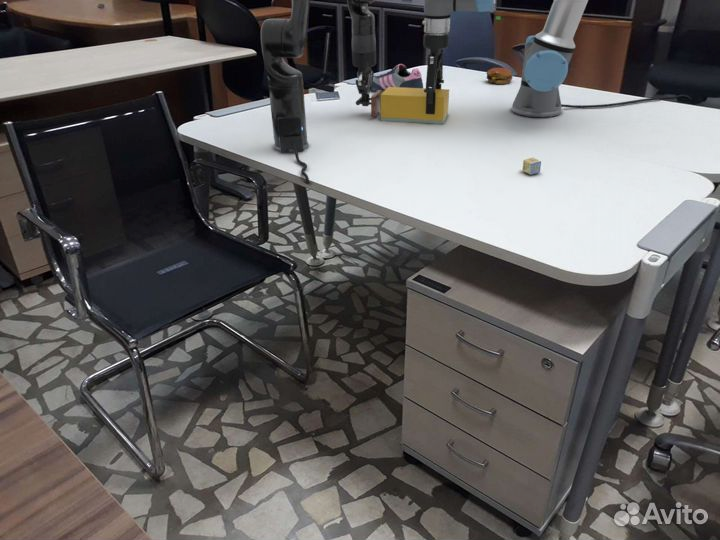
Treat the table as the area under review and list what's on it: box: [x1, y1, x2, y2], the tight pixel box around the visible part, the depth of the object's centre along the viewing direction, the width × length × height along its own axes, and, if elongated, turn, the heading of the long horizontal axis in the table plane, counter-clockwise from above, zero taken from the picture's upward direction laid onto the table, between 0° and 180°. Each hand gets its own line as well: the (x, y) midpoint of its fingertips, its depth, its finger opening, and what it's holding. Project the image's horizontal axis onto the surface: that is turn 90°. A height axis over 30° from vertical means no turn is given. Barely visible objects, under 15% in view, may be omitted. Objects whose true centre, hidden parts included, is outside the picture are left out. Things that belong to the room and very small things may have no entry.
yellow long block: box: [380, 87, 450, 125], centre depth 180 cm, size 20×10×8 cm, turn 74°
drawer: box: [355, 90, 382, 117], centre depth 181 cm, size 24×9×6 cm, turn 74°
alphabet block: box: [522, 157, 542, 175], centre depth 139 cm, size 3×3×3 cm
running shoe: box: [371, 63, 424, 93], centre depth 206 cm, size 9×26×11 cm, turn 45°
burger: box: [486, 67, 514, 85], centre depth 219 cm, size 10×9×5 cm
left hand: (365, 105), depth 184 cm, fingers closed
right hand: (433, 109), depth 179 cm, fingers closed on yellow long block, 10 cm apart
